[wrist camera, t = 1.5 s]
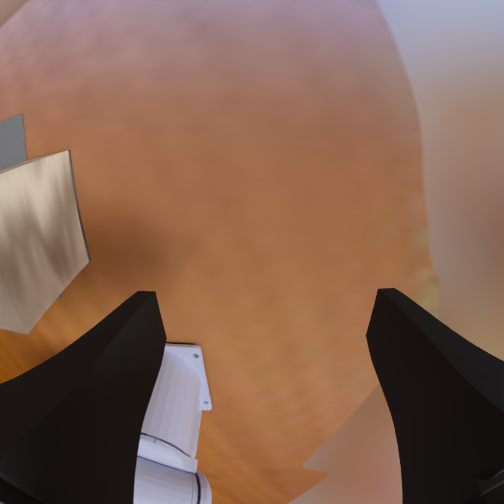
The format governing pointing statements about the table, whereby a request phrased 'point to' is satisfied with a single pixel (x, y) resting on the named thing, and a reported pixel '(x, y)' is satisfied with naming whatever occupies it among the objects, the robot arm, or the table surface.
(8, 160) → the mat
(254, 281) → the table surface
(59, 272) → the birch block
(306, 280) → the table surface
